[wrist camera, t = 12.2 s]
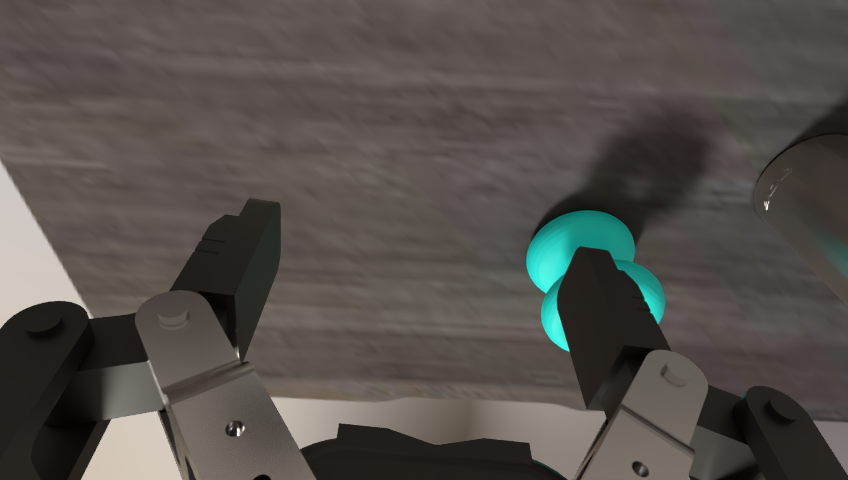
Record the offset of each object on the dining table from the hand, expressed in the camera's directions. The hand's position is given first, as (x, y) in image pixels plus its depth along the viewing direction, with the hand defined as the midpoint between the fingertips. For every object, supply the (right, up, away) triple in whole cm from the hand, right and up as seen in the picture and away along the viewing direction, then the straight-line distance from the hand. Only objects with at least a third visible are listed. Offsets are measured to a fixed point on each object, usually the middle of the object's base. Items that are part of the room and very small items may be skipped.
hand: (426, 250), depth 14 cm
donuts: (+15, 0, +35) cm, 38 cm away
